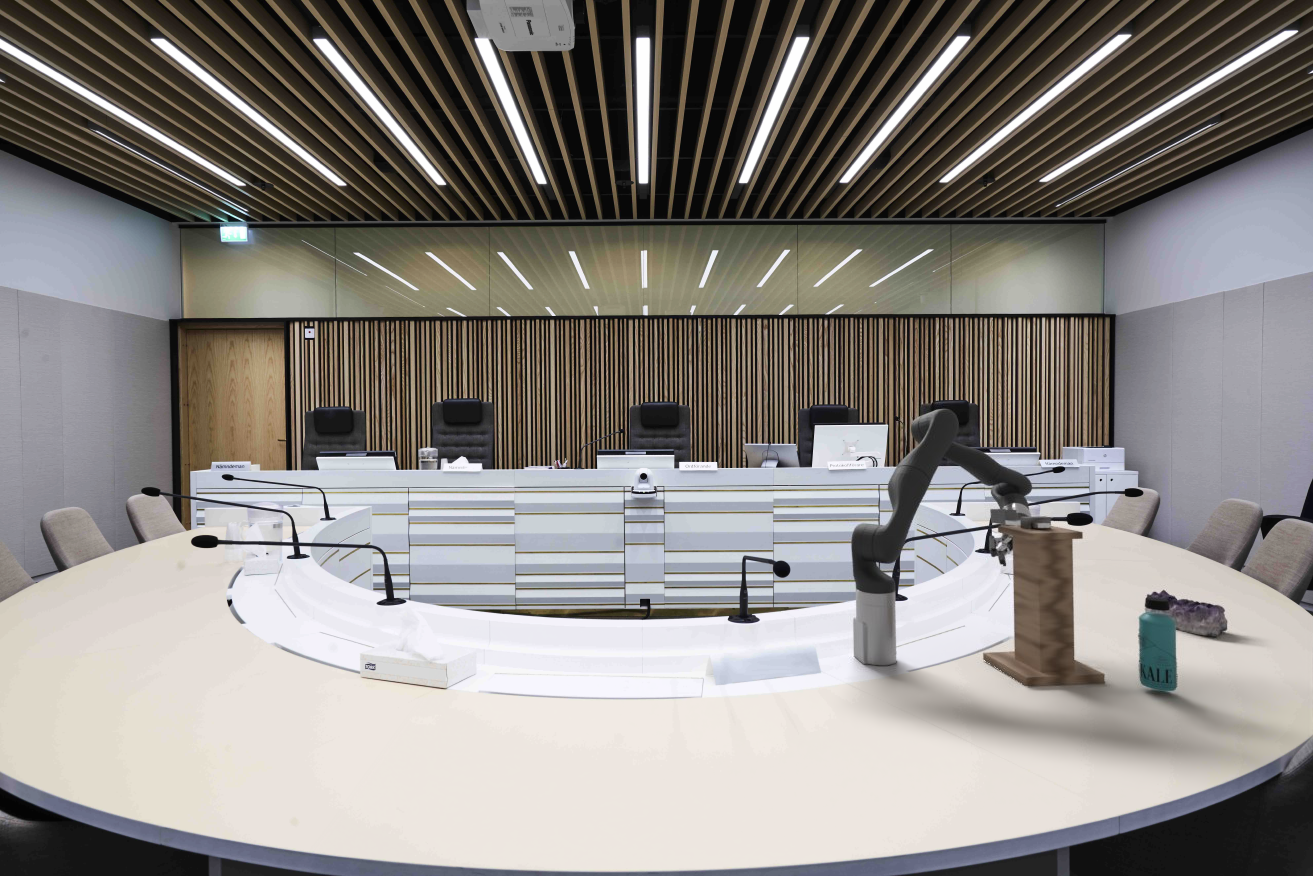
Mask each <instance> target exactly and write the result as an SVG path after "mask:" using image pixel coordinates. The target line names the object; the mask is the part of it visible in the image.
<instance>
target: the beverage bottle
mask: <svg viewBox="0 0 1313 876" xmlns="http://www.w3.org/2000/svg"><path fill="white" fill-rule="evenodd" d="M1145 607H1146V608H1148V609H1153V610H1161V611H1167V610H1170V607H1169V601H1168V600H1167V599H1164V598H1159V597H1147V596H1146V597H1145V600H1144V608H1145ZM1138 623H1139V624H1138V625H1139V626H1138V634H1137V637H1138V642H1137V643H1138V647H1139V648H1138V652H1139V653H1138V663H1139V670H1138V672H1139V673H1138V677H1139V681H1140V684H1141V685H1142V686H1144V687H1145V688H1150V689H1153V690H1157V691H1162V692H1164V691H1165V692H1174V691H1176V690H1177V688H1178V677H1179V676H1178V674H1177V672H1178V660H1177V629H1176V621H1175V620H1174V619H1173V618H1172V617H1170V616H1169V615H1167V614H1164V613H1159V612H1146V611H1145V612H1143V613H1141V614H1140V615H1139V617H1138Z"/></svg>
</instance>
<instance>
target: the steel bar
mask: <svg viewBox="0 0 1313 876" xmlns="http://www.w3.org/2000/svg"><path fill="white" fill-rule="evenodd" d="M990 523H991V524H999V525H1001V524H1006V525H1015V526H1021V520H1017V512H1016V510H1010V509H1000V508H991V509H990ZM1051 526H1052V523H1051V524H1050V523H1031V527H1034V528H1051Z"/></svg>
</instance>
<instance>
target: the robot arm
mask: <svg viewBox="0 0 1313 876" xmlns="http://www.w3.org/2000/svg"><path fill="white" fill-rule="evenodd" d="M959 427H960V424H959V420H958V417H957V414H956V413H955V412H953V410H951V409H948V408H941V409H940V408H939V409H935V410H933V411H930V412H927V413H925V414H922V415H920V416H918V417H916V418H915V419H914V420H913V421H912V422H911V425H910V433H911V435H912V438H913V440H915V441H916V442H917V443H918V444H917V446H916V447H915V448H913V449H912V450H911V451H910V452H908V454H907V455H906V456H905V457H903V459H902V460H900V462H899V463H898V464H897V466H896V468H895V469H894V471H893V473H892V475H891V476H890V479H889V481H888V485H887V494H888V497H889V501H890V504H891V507H892V514H891V516H890V519H889V521H888V522H887V524H875V523H865V522H863V523H859V524H857V525H856V526H855V527H854V529H853V531H852V535H851V543H850V545H851V546H850V547H851V550H850V551H851V560H852V576H853V578H854V582H855V617H853V619H852V626H853V630H852V631H853V632H852V633H853V656H854V657H855V658H856V659H857V660H859V662H861V664H863V665H867V664H868V665H873V666H888V665H889V666H891V665H894V664H896V663H897V626H896V625H897V624H896V623H897V620H896V618H897V617H896V616H897V615H896V582H895V579H894V578H893V577H892V576H890V575H888V574H887V573H885V572H884V571H883V570H882V569H881V568H879V566H878V565H877V564H884V565H885V564H886V565H887V564H889V565H890V564H891V565H892V564H893V563H895V562H896V561H897V560H898V559H899V557H900V556H901V553H902V552H903V548H904V546H905V544H906V543H905V542H906V541H907V537H908V535H909V532H910V528H911V525H912V523H913V520H914V517H915V515H916V513H917V511H918V508H919V507H920V504H921V503H922V501H923V499H924V497H925V495H926V493H927V491H928V489H929V487H930V486H931V485H930V484H931V483H932V480H933V477H934V475H935V474H936V471H937V470H938V468H939V466H940V464H941V462H942V460H943V458H944V459H945V460H948V461H950V462H952V463H953V464H955V465H956V466H959V467H960V468H962V469H963V470H964V471H966V472H967V473H969V474H970V475H971V476H973V477H974V478H975V479H976V480H977V481H979V482H981V483H982V484H983V485H985V486H988V487H991V489H990V494H991V497H992V498H993V499H994V500H995V501H996V503H997V505H998V507H999V509H1010V510H1016V512H1017V520H1021V517H1033V516H1032V514H1031V511H1030V507H1029V503H1028V500H1027V498H1026V497H1027V496H1028V495H1029V494H1031V492H1032V490H1033V483H1032V482H1031V480H1030V479H1029V478H1028V477H1027V476H1026V475H1025V474H1023V473H1021V472H1019V471H1017V470H1014V469H1012V468H1010V467H1006V466H1004V465H1002V464H1000V463H999V462H998V461H996V460H995V459H993V458H992V457H991V456H990V455H988V454H987V453H985V452H983V451H981V450H979V449H977V448H975V447H974V448H973V447H970V446H968V445H967V446H966V445H964V444H960V443H958V442H956V441H955V439H956V438H957V436H958V434H959V429H960V428H959ZM1000 526H1015V525H1006V524H1000ZM988 537H989V540H988V545H989V547H988V549H989V553H990V557H992V558H995V557H997V558H998V561H999V564H1000V565H1002V566H1003V567H1007V562H1006V556H1007V555H1010V554H1011V553H1013V536H1012V535H1007V534H1003V533H1001V537H995V536H994V535H989V536H988ZM1000 543H1001V544H1000ZM999 545H1000V546H999Z"/></svg>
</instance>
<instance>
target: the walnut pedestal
mask: <svg viewBox="0 0 1313 876" xmlns="http://www.w3.org/2000/svg"><path fill="white" fill-rule="evenodd" d="M1031 523H1050V524H1051V528H1034V527H1031ZM997 533H1000V534H1002V533H1003V534H1007V535H1012V536H1013V551H1012V569H1013V570H1012V571H1013V574H1012V575H1013V576H1012V578H1013V580H1012V581H1013V585H1012V587H1013V629H1014V630H1013V632H1014V633H1013V634H1014V635H1013V636H1014V637H1013V640H1014V641H1013V642H1014V643H1013V644H1014V646H1013V647H1014V651H996V652H995V651H992V652H983V653H982V660H985V661H986V662H988V663H990V664H991V665H993V666H995V667H996V668H998V669H999V670H1001V671H1002V672H1001V671H1000V672H1001V673H1003V672H1004V673H1005V675H1006V674H1007V675H1006V676H1008V675H1009V676H1011V677H1012V678H1011V677H1010V678H1011V679H1013V678H1014V679H1015V680H1014V679H1013V680H1014V681H1016V680H1017V682H1018V683H1019V682H1020V683H1019V684H1021V683H1022V684H1021V685H1023V686H1025V687H1026V686H1031V687H1049V686H1050V687H1052V686H1071V685H1072V686H1073V685H1091V684H1092V685H1093V684H1105V683H1106V682H1105V681H1106V678H1105V677H1106V676H1105V675H1106V674H1105V673H1103V672H1101V671H1099V670H1098V669H1095V668H1093V667H1090V666H1088V665H1087V664H1084V663H1083V662H1080V661H1078V660H1076V659H1075V614H1074V611H1075V609H1074V608H1075V607H1074V559H1073V558H1074V553H1073V552H1074V550H1073V543H1074V541H1073V540H1081V539H1083V533H1084V532H1083V531H1079V530H1074V529H1070V528H1063V527H1058V526H1054V525H1052V517H1051V516H1046V515H1045V516H1042V515H1041V516H1037V515H1036V516H1032V517H1021V526H1001V525H998V526H997ZM1083 540H1084V539H1083ZM986 662H985V663H986ZM988 663H987V664H988ZM991 665H990V666H991ZM993 666H992V667H993ZM996 668H995V669H996ZM998 669H997V670H998ZM999 670H998V671H999ZM1004 673H1003V674H1004ZM1009 676H1008V677H1009Z"/></svg>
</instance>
